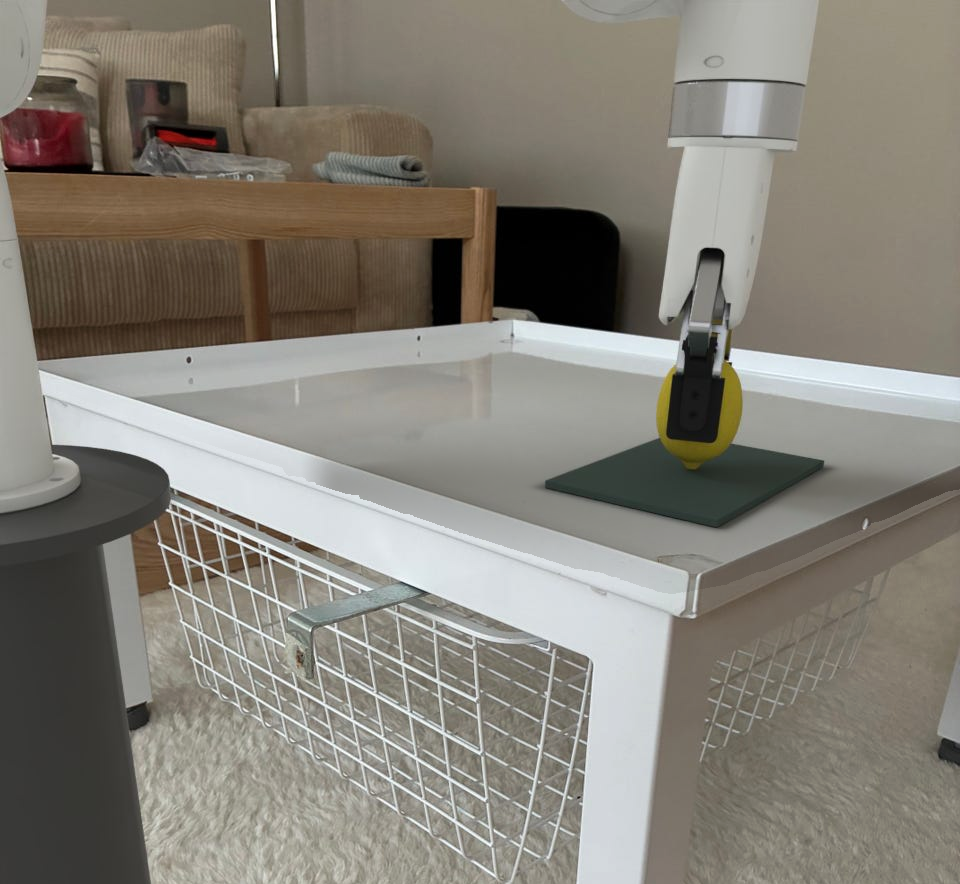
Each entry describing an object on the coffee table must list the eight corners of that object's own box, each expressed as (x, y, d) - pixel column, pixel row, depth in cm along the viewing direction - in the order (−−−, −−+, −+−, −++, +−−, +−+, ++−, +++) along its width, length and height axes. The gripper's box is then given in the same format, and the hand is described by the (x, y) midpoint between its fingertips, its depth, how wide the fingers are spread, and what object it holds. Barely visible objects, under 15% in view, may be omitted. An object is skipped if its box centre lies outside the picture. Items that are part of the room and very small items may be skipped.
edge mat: (717, 527, 57) (718, 519, 57) (544, 487, 63) (545, 480, 63) (823, 467, 70) (824, 460, 70) (671, 439, 76) (672, 432, 76)
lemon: (732, 484, 63) (751, 357, 60) (646, 476, 65) (660, 351, 61) (733, 463, 68) (750, 344, 65) (653, 456, 69) (666, 339, 66)
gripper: (685, 129, 66) (656, 400, 74) (650, 111, 51) (618, 454, 59) (801, 131, 64) (759, 409, 72) (799, 114, 49) (746, 467, 57)
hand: (696, 426), depth 65 cm, fingers closed on lemon, 5 cm apart
